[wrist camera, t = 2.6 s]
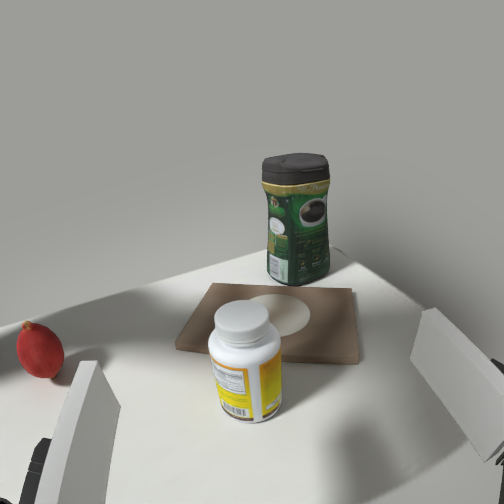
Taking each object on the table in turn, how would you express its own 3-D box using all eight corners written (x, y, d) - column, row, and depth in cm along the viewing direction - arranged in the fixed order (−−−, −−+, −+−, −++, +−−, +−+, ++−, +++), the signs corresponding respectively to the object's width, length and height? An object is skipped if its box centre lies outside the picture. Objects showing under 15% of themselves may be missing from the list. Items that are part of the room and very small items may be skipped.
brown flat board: (176, 349, 34) (174, 341, 33) (213, 288, 46) (212, 281, 46) (357, 364, 29) (359, 355, 29) (350, 294, 42) (351, 287, 41)
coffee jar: (305, 256, 54) (303, 149, 47) (337, 273, 48) (340, 153, 40) (258, 273, 50) (251, 154, 42) (288, 293, 44) (284, 158, 36)
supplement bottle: (275, 377, 29) (272, 289, 25) (287, 420, 24) (288, 331, 20) (219, 385, 28) (202, 298, 24) (223, 429, 23) (202, 342, 19)
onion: (31, 369, 29) (4, 316, 26) (68, 354, 32) (45, 300, 29) (36, 399, 25) (2, 342, 21) (78, 382, 28) (49, 324, 25)
